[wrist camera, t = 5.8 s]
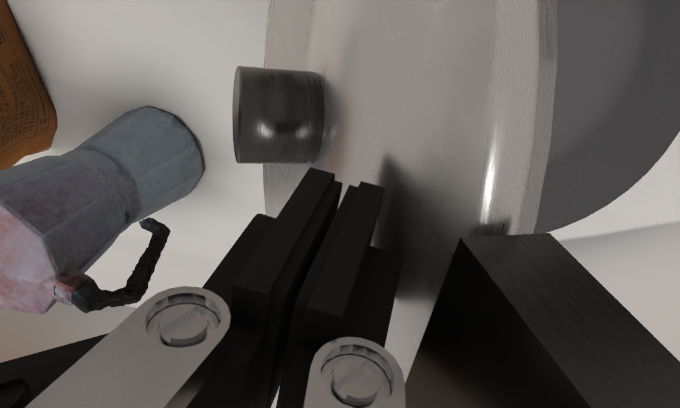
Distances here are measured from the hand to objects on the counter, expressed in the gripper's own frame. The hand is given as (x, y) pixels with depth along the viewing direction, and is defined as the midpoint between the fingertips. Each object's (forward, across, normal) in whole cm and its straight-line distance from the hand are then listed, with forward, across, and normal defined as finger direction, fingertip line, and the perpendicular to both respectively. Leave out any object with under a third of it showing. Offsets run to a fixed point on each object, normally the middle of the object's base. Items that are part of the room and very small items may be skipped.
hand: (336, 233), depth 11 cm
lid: (+5, +1, 0) cm, 5 cm away
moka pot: (+27, +20, +16) cm, 38 cm away
